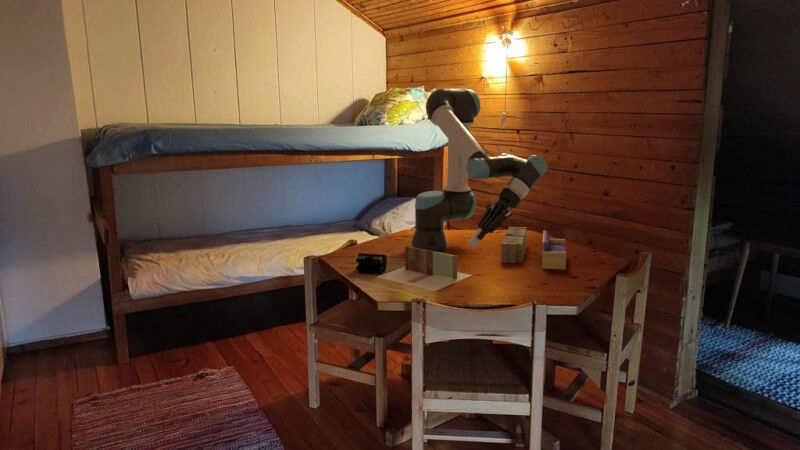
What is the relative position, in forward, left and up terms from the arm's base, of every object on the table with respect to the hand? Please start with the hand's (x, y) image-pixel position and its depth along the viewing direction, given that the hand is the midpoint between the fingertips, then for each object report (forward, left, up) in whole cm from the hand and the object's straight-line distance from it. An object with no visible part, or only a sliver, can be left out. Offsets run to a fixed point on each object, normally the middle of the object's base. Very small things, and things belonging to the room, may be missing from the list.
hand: (470, 245), depth 196 cm
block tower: (-3, +37, -12) cm, 39 cm away
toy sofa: (+15, +35, -12) cm, 39 cm away
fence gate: (-5, -8, -10) cm, 14 cm away
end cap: (-30, -18, -11) cm, 37 cm away
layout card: (-12, -11, -11) cm, 20 cm away
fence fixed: (-17, -8, -11) cm, 21 cm away
